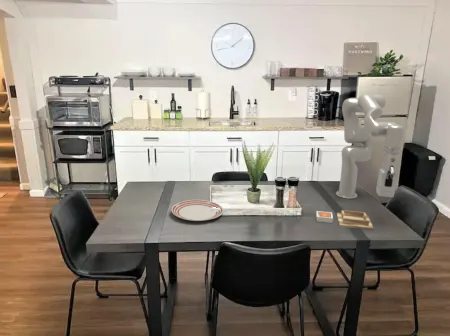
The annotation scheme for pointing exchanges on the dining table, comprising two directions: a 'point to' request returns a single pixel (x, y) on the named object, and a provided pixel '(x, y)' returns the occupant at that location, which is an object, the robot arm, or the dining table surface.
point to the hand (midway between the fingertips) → (386, 183)
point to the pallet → (354, 220)
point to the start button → (324, 214)
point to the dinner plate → (196, 210)
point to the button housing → (324, 219)
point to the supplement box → (381, 187)
